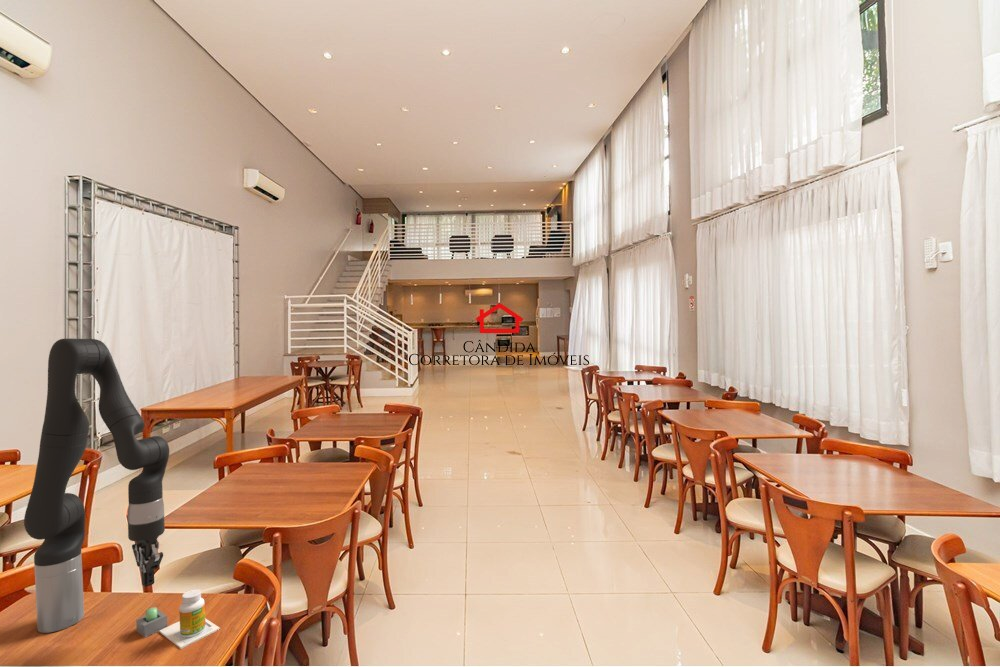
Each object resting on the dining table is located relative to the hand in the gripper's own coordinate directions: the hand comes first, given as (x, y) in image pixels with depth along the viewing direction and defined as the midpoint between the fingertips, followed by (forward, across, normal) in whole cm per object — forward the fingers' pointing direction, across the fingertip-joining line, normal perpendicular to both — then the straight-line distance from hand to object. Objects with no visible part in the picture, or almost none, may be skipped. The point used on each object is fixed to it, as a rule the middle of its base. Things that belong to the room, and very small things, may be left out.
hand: (148, 584), depth 126 cm
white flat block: (+12, -9, -6) cm, 16 cm away
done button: (+10, 0, -1) cm, 10 cm away
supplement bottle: (+11, -11, -6) cm, 17 cm away
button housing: (+12, 0, -1) cm, 12 cm away
